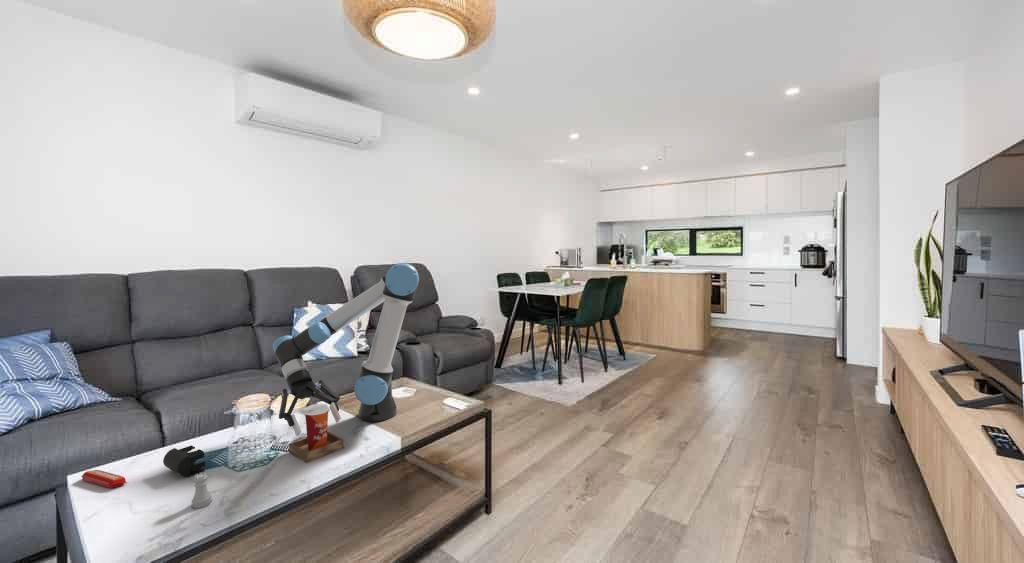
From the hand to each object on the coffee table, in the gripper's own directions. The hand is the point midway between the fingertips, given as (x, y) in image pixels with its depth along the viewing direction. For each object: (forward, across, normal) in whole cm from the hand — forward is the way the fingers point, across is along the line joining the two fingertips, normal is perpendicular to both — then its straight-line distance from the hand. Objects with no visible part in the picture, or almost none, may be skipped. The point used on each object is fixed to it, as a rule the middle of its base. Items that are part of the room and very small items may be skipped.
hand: (319, 426), depth 139 cm
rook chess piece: (+9, +34, -4) cm, 35 cm away
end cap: (-8, +32, -21) cm, 39 cm away
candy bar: (-16, +48, -29) cm, 59 cm away
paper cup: (+4, 0, -7) cm, 8 cm away
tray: (+4, 0, -8) cm, 9 cm away
